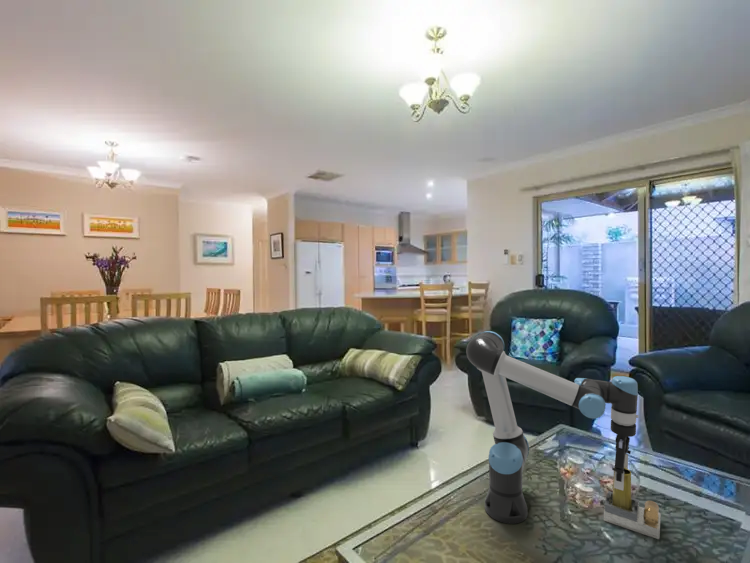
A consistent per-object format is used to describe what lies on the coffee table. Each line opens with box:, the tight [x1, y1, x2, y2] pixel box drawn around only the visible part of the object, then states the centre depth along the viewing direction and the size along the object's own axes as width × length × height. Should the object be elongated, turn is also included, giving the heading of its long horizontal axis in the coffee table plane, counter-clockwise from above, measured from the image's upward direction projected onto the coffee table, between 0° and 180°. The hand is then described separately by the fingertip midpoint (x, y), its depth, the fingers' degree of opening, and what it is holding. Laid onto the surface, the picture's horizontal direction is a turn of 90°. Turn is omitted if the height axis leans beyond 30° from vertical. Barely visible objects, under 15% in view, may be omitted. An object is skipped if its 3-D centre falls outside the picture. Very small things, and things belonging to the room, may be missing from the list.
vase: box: [612, 468, 632, 511], centre depth 139 cm, size 6×6×14 cm
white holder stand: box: [603, 490, 662, 540], centre depth 138 cm, size 16×10×8 cm, turn 52°
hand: (620, 479), depth 139 cm, fingers open, 13 cm apart
